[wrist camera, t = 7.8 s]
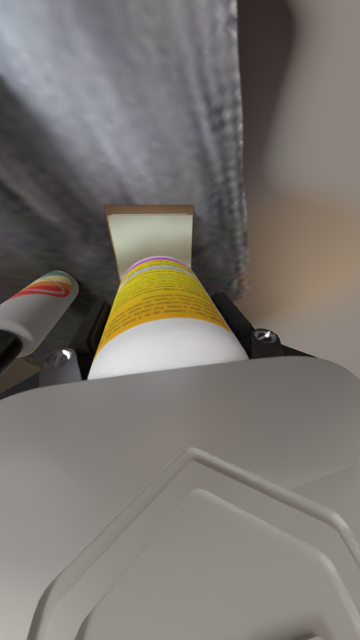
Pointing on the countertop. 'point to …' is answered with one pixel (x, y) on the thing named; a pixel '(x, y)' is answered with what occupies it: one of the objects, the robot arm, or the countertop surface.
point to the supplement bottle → (162, 323)
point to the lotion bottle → (33, 314)
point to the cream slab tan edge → (149, 233)
